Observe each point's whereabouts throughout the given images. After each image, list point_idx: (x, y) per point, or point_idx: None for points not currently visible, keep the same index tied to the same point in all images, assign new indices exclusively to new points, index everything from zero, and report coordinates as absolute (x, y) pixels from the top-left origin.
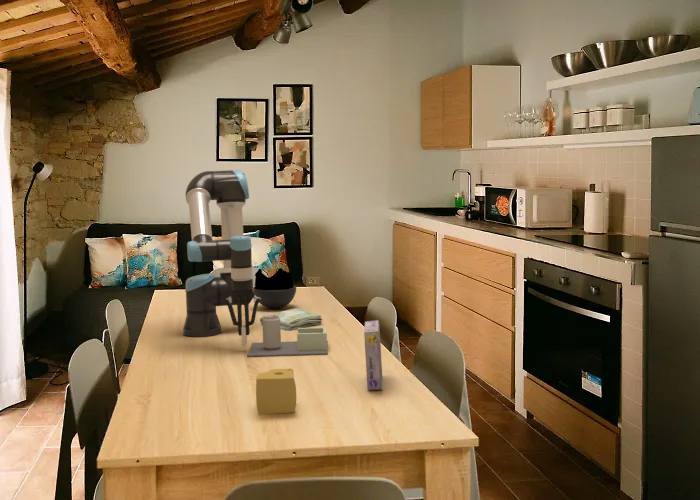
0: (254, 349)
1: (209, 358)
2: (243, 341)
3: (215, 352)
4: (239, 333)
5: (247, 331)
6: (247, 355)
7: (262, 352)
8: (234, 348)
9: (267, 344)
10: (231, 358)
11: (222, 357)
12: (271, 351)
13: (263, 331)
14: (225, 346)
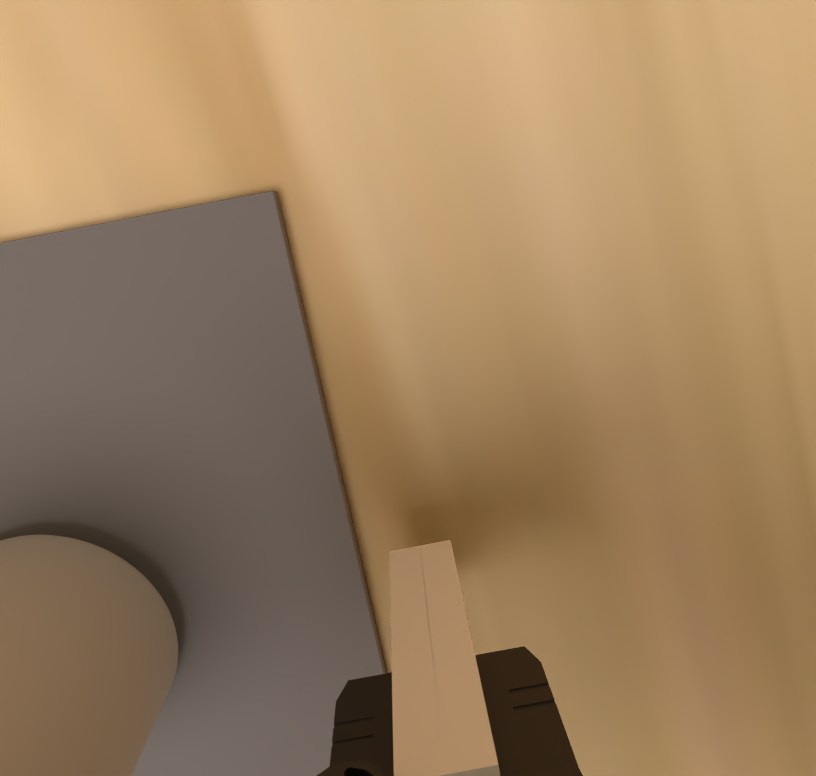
0: (284, 545)
1: (811, 93)
2: (430, 572)
3: (786, 440)
4: (524, 674)
5: (364, 730)
6: (266, 194)
7: (108, 389)
8: (586, 647)
9: (48, 565)
10: (487, 110)
11: (634, 165)
12: (2, 454)
13: (19, 758)
14: (718, 726)
